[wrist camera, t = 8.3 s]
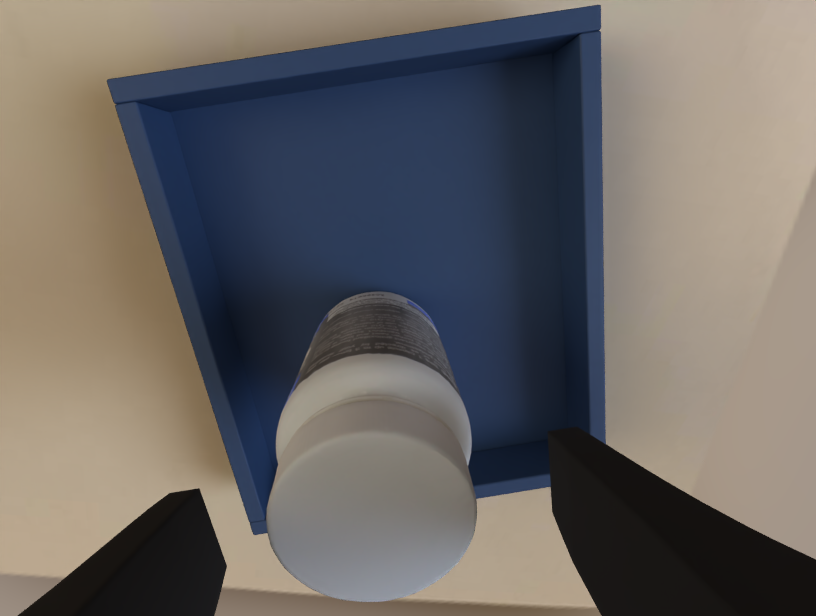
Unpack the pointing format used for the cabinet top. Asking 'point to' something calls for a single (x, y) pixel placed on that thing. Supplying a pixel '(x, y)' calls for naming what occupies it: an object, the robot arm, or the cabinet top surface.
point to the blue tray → (389, 222)
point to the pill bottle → (373, 457)
